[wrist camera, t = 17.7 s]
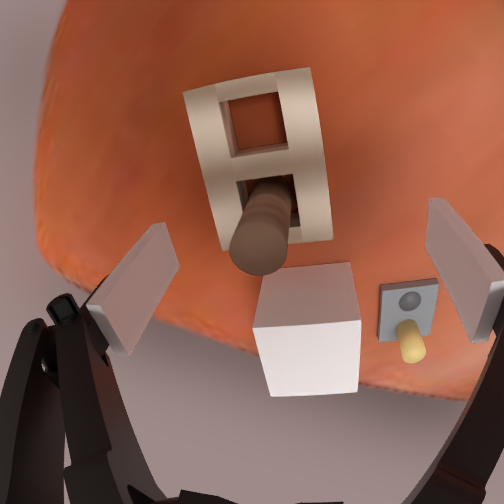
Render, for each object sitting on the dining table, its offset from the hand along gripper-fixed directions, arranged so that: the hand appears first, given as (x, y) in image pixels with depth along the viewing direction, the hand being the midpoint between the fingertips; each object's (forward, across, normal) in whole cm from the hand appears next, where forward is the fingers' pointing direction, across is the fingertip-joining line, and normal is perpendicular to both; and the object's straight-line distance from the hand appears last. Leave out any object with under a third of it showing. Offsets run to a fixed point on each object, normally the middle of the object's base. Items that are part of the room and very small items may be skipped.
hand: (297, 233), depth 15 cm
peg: (+11, -3, -2) cm, 12 cm away
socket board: (+12, -3, +1) cm, 12 cm away
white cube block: (+11, 0, -14) cm, 18 cm away
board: (+11, +10, -16) cm, 22 cm away
